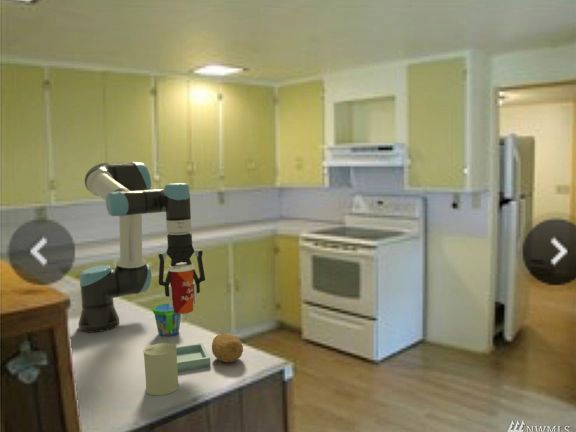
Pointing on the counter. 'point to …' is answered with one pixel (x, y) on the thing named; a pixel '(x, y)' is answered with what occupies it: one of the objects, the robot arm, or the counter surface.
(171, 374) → the can
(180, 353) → the tray
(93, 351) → the counter surface
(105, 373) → the counter surface
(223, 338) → the potato
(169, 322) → the snack cup
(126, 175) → the robot arm
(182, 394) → the counter surface
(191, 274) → the coffee cup
